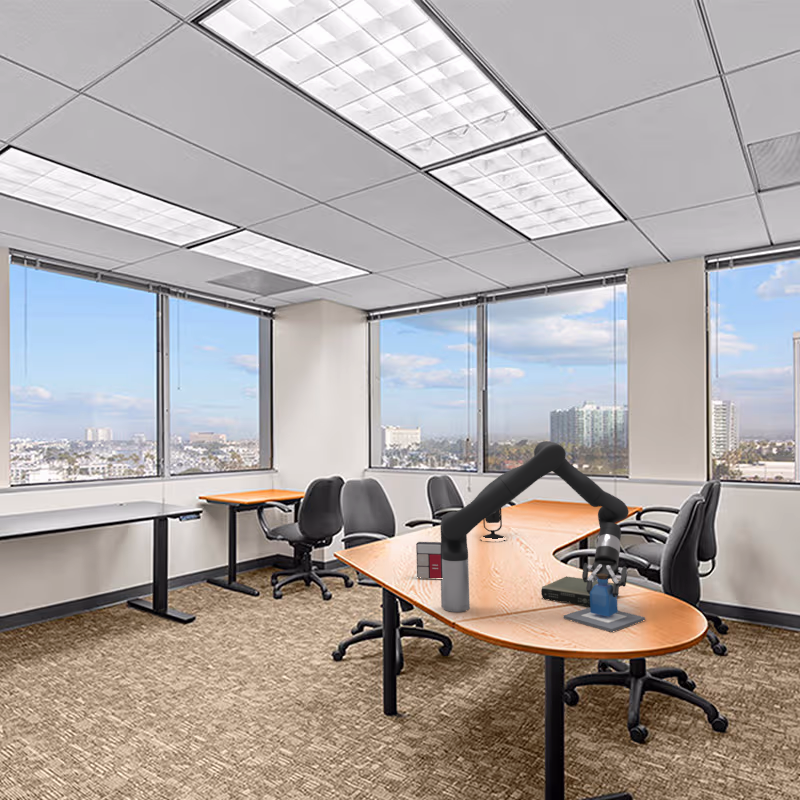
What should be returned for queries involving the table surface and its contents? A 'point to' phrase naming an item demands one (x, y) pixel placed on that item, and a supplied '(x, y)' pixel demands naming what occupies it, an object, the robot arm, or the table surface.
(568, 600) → the network switch
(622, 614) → the mat
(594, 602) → the perfume bottle
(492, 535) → the microphone
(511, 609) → the table surface
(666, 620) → the table surface
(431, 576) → the grey and red box
